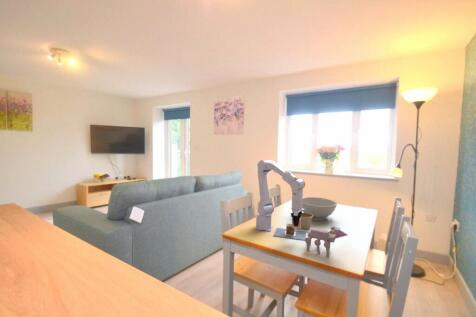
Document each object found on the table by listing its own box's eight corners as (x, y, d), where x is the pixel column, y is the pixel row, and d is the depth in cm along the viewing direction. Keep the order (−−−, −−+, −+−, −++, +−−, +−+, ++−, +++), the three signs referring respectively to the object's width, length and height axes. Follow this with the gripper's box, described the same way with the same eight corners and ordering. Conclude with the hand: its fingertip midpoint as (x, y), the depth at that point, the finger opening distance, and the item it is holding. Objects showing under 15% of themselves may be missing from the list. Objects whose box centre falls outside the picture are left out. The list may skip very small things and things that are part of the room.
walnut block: (286, 234, 139) (286, 226, 139) (287, 231, 144) (287, 223, 143) (293, 235, 138) (294, 227, 138) (294, 232, 142) (294, 224, 142)
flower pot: (294, 226, 154) (295, 213, 154) (306, 224, 158) (306, 211, 157) (303, 231, 146) (303, 217, 145) (315, 229, 149) (316, 216, 148)
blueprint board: (273, 236, 138) (273, 235, 138) (277, 228, 150) (277, 227, 150) (305, 240, 132) (305, 239, 132) (306, 232, 144) (306, 231, 144)
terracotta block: (291, 227, 130) (292, 219, 130) (292, 225, 134) (292, 216, 134) (300, 228, 128) (300, 220, 128) (300, 226, 133) (301, 217, 132)
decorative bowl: (329, 212, 184) (330, 197, 183) (341, 224, 157) (342, 207, 156) (295, 211, 187) (295, 196, 186) (300, 223, 160) (301, 205, 159)
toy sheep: (348, 252, 118) (349, 226, 117) (346, 262, 109) (347, 235, 107) (308, 243, 128) (308, 219, 127) (303, 252, 119) (303, 226, 118)
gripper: (303, 204, 122) (302, 230, 123) (305, 198, 136) (304, 221, 137) (290, 203, 124) (289, 228, 125) (292, 197, 138) (292, 219, 139)
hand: (296, 224), depth 131 cm, fingers closed on terracotta block, 4 cm apart
